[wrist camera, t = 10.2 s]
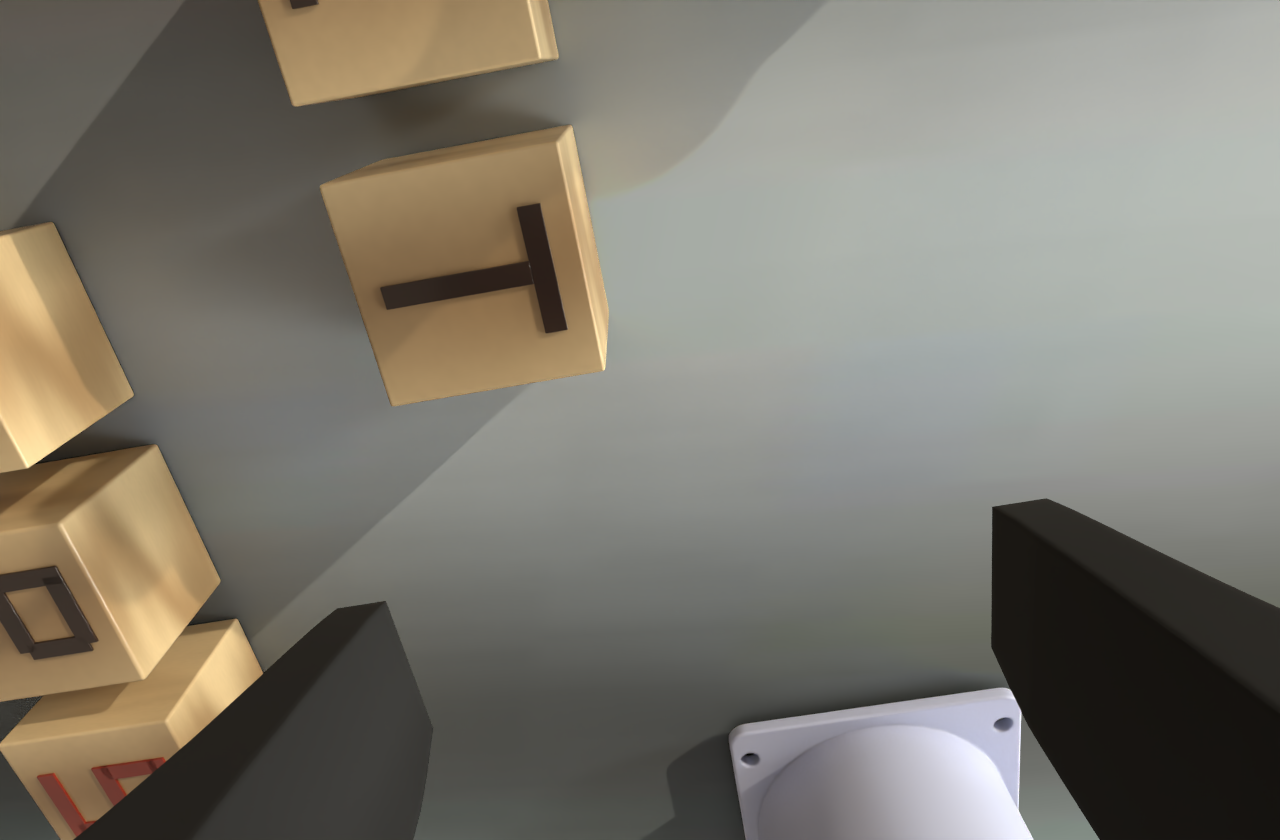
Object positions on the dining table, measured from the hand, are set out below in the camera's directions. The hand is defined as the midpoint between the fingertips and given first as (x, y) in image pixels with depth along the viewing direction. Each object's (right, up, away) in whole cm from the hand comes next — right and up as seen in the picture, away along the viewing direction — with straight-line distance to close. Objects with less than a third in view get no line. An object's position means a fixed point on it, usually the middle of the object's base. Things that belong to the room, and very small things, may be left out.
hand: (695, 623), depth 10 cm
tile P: (-14, 0, +10) cm, 17 cm away
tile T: (-4, +6, +7) cm, 10 cm away
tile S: (-13, -5, +12) cm, 18 cm away
